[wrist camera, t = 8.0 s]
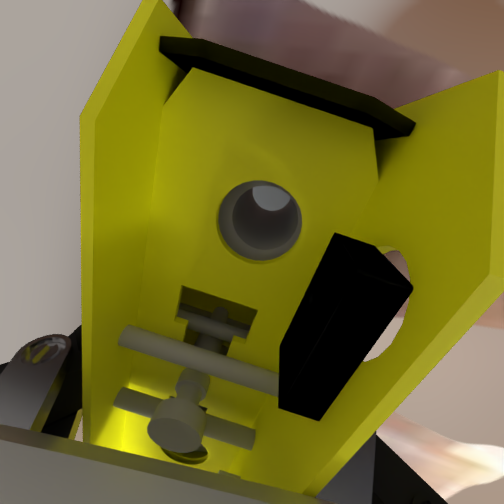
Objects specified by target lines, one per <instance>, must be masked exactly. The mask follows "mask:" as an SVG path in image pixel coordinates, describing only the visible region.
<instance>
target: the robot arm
mask: <svg viewBox="0 0 504 504" xmlns="http://www.w3.org/2000/svg"><path fill="white" fill-rule="evenodd" d="M82 415H83V409H82V325H80V326H79V327H78V328H77V329H76V330H74V332H73V333H72V334H71V335H69V336H65V335H62V334H52V335H46V336H43V337H40V338H37V339H35V340H33V341H31V342H29V343H27V344H26V345H24V346H23V347H21V349H20V350H19V351H18V352H17V353H16V354H15V355H14V357H13V358H12V359H11V361H10V362H7V363H4V364H1V365H0V504H448V503H447V502H446V501H445V500H444V499H443V498H442V497H441V496H440V495H439V494H437V493H436V492H435V491H434V490H433V489H432V488H431V487H430V486H429V485H428V484H427V483H426V482H425V481H424V480H423V479H422V478H421V477H420V476H419V475H418V474H417V473H416V472H415V471H414V470H413V469H411V468H410V467H409V466H408V465H407V464H406V463H405V462H404V461H403V460H402V459H401V458H400V457H399V456H398V455H397V454H396V453H395V452H394V451H393V450H392V449H391V448H390V447H389V446H388V445H386V444H385V443H384V442H383V441H382V440H381V439H380V438H379V437H378V436H377V435H376V431H375V432H374V433H373V434H372V436H371V437H370V438H369V439H368V440H367V441H366V442H365V443H364V444H363V445H362V446H361V447H360V449H359V450H358V451H357V452H356V453H355V454H354V455H353V456H352V457H351V458H350V459H349V461H348V462H347V463H346V464H345V465H344V466H343V467H342V468H341V469H340V470H339V471H338V473H337V474H336V475H335V476H334V477H333V478H332V479H331V480H330V481H329V482H328V483H327V485H326V486H325V487H324V488H323V489H322V490H321V491H320V492H319V493H318V494H317V495H316V497H311V496H307V495H304V494H300V493H296V492H292V491H288V490H284V489H280V488H277V487H272V486H268V485H264V484H260V483H256V482H251V481H247V480H243V479H239V478H235V477H230V476H226V475H222V474H218V473H214V472H210V471H205V470H201V469H197V468H193V467H188V466H184V465H180V464H176V463H171V462H167V461H163V460H158V459H154V458H150V457H146V456H141V455H137V454H133V453H128V452H124V451H120V450H115V449H111V448H107V447H102V446H98V445H94V444H89V443H85V442H80V441H75V440H74V439H75V436H76V433H77V430H78V427H79V424H80V421H81V418H82Z"/></svg>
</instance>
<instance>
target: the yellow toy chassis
mask: <svg viewBox="0 0 504 504" xmlns="http://www.w3.org/2000/svg"><path fill="white" fill-rule="evenodd" d="M257 186H273V187H276V188H279V189H281V190H282V191H284V192H285V193H287V194H288V195H289V196H290V197H291V198H290V200H289V202H288V203H287V204H286V205H285V206H284V207H283V208H281V209H279V210H275V211H269V210H265V209H263V208H261V207H260V206H259V205H258V204H257V203H256V201H255V199H254V196H253V187H257ZM80 195H81V197H80V198H81V199H80V202H81V303H82V304H81V305H82V409H83V442H85V443H89V444H94V445H98V446H102V447H107V448H111V449H115V450H120V451H124V452H128V453H133V454H137V455H141V456H146V457H150V458H154V459H158V460H163V461H167V462H171V463H176V464H180V465H184V466H188V467H193V468H197V469H201V470H205V471H210V472H214V473H218V474H222V475H226V476H230V477H235V478H239V479H243V480H247V481H251V482H256V483H260V484H264V485H268V486H272V487H277V488H280V489H284V490H288V491H292V492H296V493H300V494H304V495H307V496H311V497H316V495H317V494H318V493H319V492H320V491H321V490H322V489H323V488H324V487H325V486H326V485H327V483H328V482H329V481H330V480H331V479H332V478H333V477H334V476H335V475H336V474H337V473H338V471H339V470H340V469H341V468H342V467H343V466H344V465H345V464H346V463H347V462H348V461H349V459H350V458H351V457H352V456H353V455H354V454H355V453H356V452H357V451H358V450H359V449H360V447H361V446H362V445H363V444H364V443H365V442H366V441H367V440H368V439H369V438H370V437H371V436H372V434H373V433H374V432H375V431H376V430H377V429H378V428H379V427H380V426H381V425H382V424H383V422H384V421H385V420H386V419H387V418H388V417H389V416H390V415H391V414H392V413H393V412H394V410H395V409H396V408H397V407H398V406H399V405H400V404H401V403H402V402H403V401H404V399H405V398H406V397H407V396H408V395H409V394H410V393H411V392H412V391H413V390H414V389H415V388H416V386H417V385H418V384H419V383H420V382H421V381H422V380H423V379H424V378H425V377H426V375H427V374H428V373H429V372H430V371H431V370H432V369H433V368H434V367H435V366H436V365H437V364H438V362H439V361H440V360H441V359H442V358H443V357H444V356H445V355H446V354H447V353H448V352H449V351H450V349H451V348H452V347H453V346H454V345H455V344H456V343H457V342H458V341H459V340H460V339H461V337H462V336H463V335H464V334H465V333H466V332H467V331H468V330H469V329H470V328H471V327H472V325H473V324H474V323H475V322H476V321H477V320H478V319H479V318H480V317H481V316H482V315H483V313H484V312H485V311H486V310H487V309H488V308H489V307H490V306H491V305H492V304H493V303H494V301H495V300H496V299H497V298H498V297H499V296H500V295H501V294H502V293H503V292H504V72H503V71H500V70H497V71H495V72H492V73H489V74H487V75H484V76H481V77H479V78H476V79H473V80H470V81H468V82H465V83H462V84H460V85H457V86H454V87H452V88H449V89H446V90H444V91H441V92H438V93H435V94H433V95H430V96H427V97H425V98H422V99H419V100H417V101H414V102H411V103H408V104H406V105H403V106H400V107H398V108H395V109H393V108H391V107H389V106H388V105H386V104H385V103H383V102H381V101H380V100H378V99H376V98H375V97H372V96H369V95H366V94H363V93H360V92H357V91H354V90H351V89H348V88H345V87H342V86H340V85H337V84H334V83H331V82H328V81H325V80H322V79H319V78H316V77H313V76H310V75H307V74H304V73H301V72H298V71H295V70H292V69H289V68H286V67H284V66H281V65H278V64H275V63H272V62H269V61H266V60H263V59H260V58H257V57H254V56H251V55H248V54H245V53H242V52H239V51H236V50H233V49H231V48H228V47H225V46H222V45H219V44H216V43H213V42H210V41H207V40H204V39H198V38H192V36H191V35H190V34H189V33H188V31H187V30H186V29H185V28H184V26H183V25H182V24H181V23H180V21H179V20H178V19H177V18H176V17H175V15H174V14H173V13H172V12H171V10H170V9H169V8H168V7H167V5H166V4H165V3H164V2H163V0H142V2H141V4H140V6H139V8H138V10H137V11H136V13H135V15H134V17H133V19H132V21H131V22H130V24H129V26H128V28H127V30H126V32H125V33H124V35H123V37H122V39H121V41H120V43H119V44H118V47H117V48H116V50H115V52H114V54H113V56H112V57H111V59H110V61H109V63H108V65H107V67H106V68H105V70H104V72H103V74H102V76H101V78H100V80H99V81H98V83H97V85H96V87H95V89H94V91H93V92H92V94H91V96H90V98H89V100H88V102H87V103H86V105H85V107H84V109H83V111H82V113H81V115H80ZM393 250H399V251H400V253H401V254H402V256H403V257H404V259H405V260H406V262H407V266H408V271H409V275H410V282H409V281H408V280H407V279H406V278H405V277H404V276H403V275H402V274H401V273H400V272H399V271H398V269H397V268H396V267H395V266H394V265H393V264H392V263H391V262H390V261H389V260H388V259H387V258H386V257H385V256H384V255H383V254H385V253H387V252H389V251H393ZM408 297H409V303H408V307H407V310H406V313H405V317H404V320H403V324H402V326H401V328H400V329H399V331H398V333H397V335H396V337H395V338H394V340H393V342H392V344H391V345H390V346H389V347H388V348H387V349H386V350H385V351H384V352H383V353H381V355H379V356H378V357H377V358H374V359H372V360H369V361H367V362H364V361H363V360H364V358H365V357H366V355H367V354H368V353H369V351H370V350H371V348H372V347H373V345H374V344H375V343H376V341H377V340H378V339H379V337H380V336H381V334H382V333H383V332H384V330H385V329H386V327H387V326H388V324H389V323H390V322H391V320H392V319H393V318H394V316H395V315H396V314H397V312H398V311H399V309H400V308H401V307H402V305H403V304H404V302H405V301H406V300H407V298H408Z"/></svg>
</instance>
